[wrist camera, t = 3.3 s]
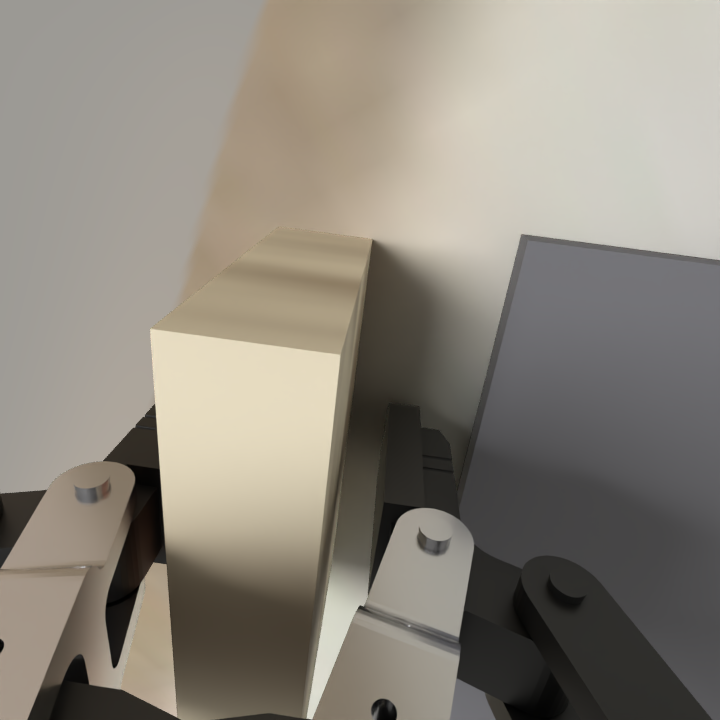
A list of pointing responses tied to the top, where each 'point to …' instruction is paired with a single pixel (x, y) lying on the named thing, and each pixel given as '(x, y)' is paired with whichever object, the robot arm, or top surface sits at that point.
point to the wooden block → (256, 466)
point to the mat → (607, 441)
